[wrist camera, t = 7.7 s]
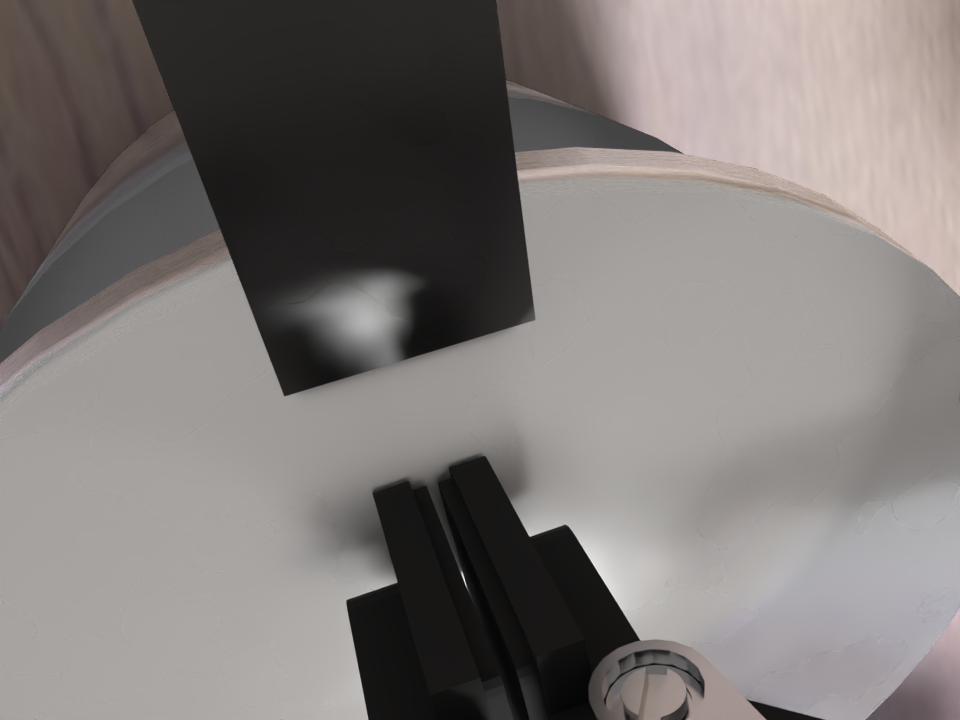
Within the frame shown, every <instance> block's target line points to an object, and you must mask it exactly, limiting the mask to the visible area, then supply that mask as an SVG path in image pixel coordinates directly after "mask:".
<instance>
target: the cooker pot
mask: <svg viewBox="0 0 960 720" xmlns="http://www.w3.org/2000/svg"><path fill="white" fill-rule="evenodd" d="M506 86H507V94H508V102H509V110H510V118H511V126H512V134H513V142H514V150H515V152H523V151H535V150H547V149H559V148H570V147H583V148H604V149H624V150H645V151H665V152H675V153H680V154H683V153H681V152H680V151H678V150H676V149H675V148H673V147H671V146H670V145H668V144H666V143H664V142H663V141H661V140H659V139H658V138H655V137H653V136H650V135H648V134H645V133H643V132H640V131H638V130H635V129H633V128H630V127H628V126H625V125H623V124H620V123H618V122H615V121H613V120H610V119H608V118H605V117H603V116H600V115H598V114H595V113H592V112H590V111H587V110H585V109H582V108H579V107H577V106H574V105H572V104H569V103H566V102H564V101H561V100H558V99H556V98H553V97H551V96H548V95H545V94H543V93H540V92H538V91H535V90H532V89H530V88H527V87H524V86H522V85H519V84H517V83H514V82H511V81H509V80H506ZM217 230H220V228H219V225H218V222H217V220H216V217H215V215H214V212H213V209H212V207H211V204H210V201H209V199H208V196H207V194H206V191H205V188H204V186H203V183H202V181H201V178H200V175H199V173H198V170H197V168H196V165H195V162H194V160H193V157H192V155H191V152H190V149H189V147H188V144H187V141H186V139H185V136H184V134H183V131H182V128H181V126H180V123H179V121H178V118H177V115H176V113H175V110H173V111H172V112H171V113H169V114H168V115H166V116H165V117H163V118H162V119H160V120H159V121H157V122H156V123H154V124H153V125H152V126H150V127H149V128H148V129H147V130H146V131H145V132H144V133H143V134H142V135H141V136H139V137H138V138H137V139H136V140H135V141H134V142H133V143H132V144H131V145H130V146H128V147H127V148H126V149H125V150H124V151H123V152H122V153H121V154H120V155H119V156H118V157H116V159H115V160H114V161H113V162H112V163H111V165H110V166H109V167H108V168H107V170H106V171H105V172H104V173H103V174H102V176H101V177H100V178H99V179H98V181H97V182H96V183H95V184H94V185H93V187H92V188H91V189H90V190H89V192H88V193H87V194H86V195H85V197H84V199H83V200H82V202H81V203H80V205H79V206H78V208H77V209H76V211H75V212H74V214H73V216H72V217H71V219H70V220H69V222H68V223H67V225H66V226H65V228H64V230H63V231H62V233H61V234H60V236H59V237H58V239H57V240H56V242H55V244H54V245H53V247H52V248H51V250H50V251H49V253H48V254H47V256H46V257H45V259H44V261H43V262H42V264H41V265H40V267H39V268H38V270H37V271H36V273H35V275H34V276H33V278H32V279H31V281H30V282H29V284H28V285H27V287H26V289H25V290H24V292H23V293H22V295H21V296H20V298H19V299H18V301H17V302H16V304H15V306H14V307H13V309H12V310H11V312H10V313H9V315H8V316H7V318H6V320H5V321H4V323H3V324H2V326H1V328H0V364H1V363H2V362H3V361H4V360H5V359H7V358H8V357H9V356H10V355H11V354H13V353H14V352H15V351H16V350H17V349H18V348H20V347H21V346H22V345H23V344H24V343H26V342H27V341H28V340H29V339H30V338H31V337H33V336H34V335H35V334H36V333H37V332H39V331H40V330H42V329H43V328H45V327H46V326H48V325H50V324H51V323H53V322H54V321H56V320H57V319H59V318H61V317H62V316H64V315H65V314H67V313H68V312H70V311H72V310H73V309H75V308H76V307H78V306H79V305H81V304H82V303H84V302H86V301H87V300H89V299H90V298H92V297H93V296H95V295H97V294H98V293H100V292H101V291H103V290H104V289H106V288H108V287H109V286H111V285H112V284H114V283H115V282H117V281H118V280H120V279H122V278H123V277H125V276H126V275H128V274H129V273H131V272H133V271H134V270H136V269H138V268H140V267H142V266H144V265H146V264H148V263H150V262H153V261H155V260H157V259H159V258H161V257H163V256H165V255H167V254H169V253H171V252H173V251H176V250H178V249H180V248H182V247H184V246H186V245H188V244H190V243H192V242H194V241H197V240H199V239H201V238H203V237H205V236H207V235H209V234H211V233H213V232H215V231H217Z"/></svg>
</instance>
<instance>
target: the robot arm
mask: <svg viewBox="0 0 960 720" xmlns="http://www.w3.org/2000/svg"><path fill="white" fill-rule="evenodd" d="M449 472H450V476H451V478H448V479H445V480H442V481H439V482H438V486H439V490H440V494H441V497H442V501H443V504H444V508H445V511H446V515H447V518H448V522H449V526H450V529H451V533H452V536H453V540H454V543H455V547H456V550H457V554H458V558H459V561H460V565H461V568H462V572H463V575H464V579H465V582H466V585H465V582H464V580H463V577H462V575H461V572H460V570H459V567H458V564H457V562H456V559H455V557H454V554H453V552H452V549H451V547H450V544H449V542H448V539H447V537H446V534H445V531H444V529H443V526H442V524H441V521H440V519H439V516H438V514H437V511H436V509H435V506H434V504H433V501H432V498H431V496H430V493H429V491H428V488H427V486H424V487H421V488H418V489H415V490H412V488H411V485H410V483H409V481H406V482H403V483H400V484H397V485H394V486H391V487H388V488H385V489H382V490H379V491H376V492H373V493H372V494H373V497H374V501H375V504H376V508H377V511H378V515H379V518H380V522H381V526H382V529H383V533H384V536H385V540H386V543H387V547H388V550H389V554H390V557H391V561H392V564H393V568H394V571H395V575H396V578H397V583H394V584H391V585H389V586H386V587H383V588H380V589H377V590H374V591H371V592H368V593H365V594H362V595H360V596H357V597H354V598H351V599H348V600H346V605H347V611H348V616H349V622H350V627H351V632H352V637H353V642H354V647H355V653H356V658H357V663H358V668H359V673H360V679H361V684H362V689H363V694H364V699H365V704H366V710H367V715H368V720H824V719H821V718H817V717H813V716H809V715H805V714H801V713H797V712H794V711H790V710H786V709H782V708H778V707H774V706H770V705H767V704H763V703H759V702H755V701H751V700H747V699H746V698H745V697H744V696H743V695H742V694H741V693H740V692H739V691H738V690H737V689H736V688H735V687H734V686H733V685H732V684H731V683H730V682H729V681H728V680H727V679H726V678H725V677H724V676H723V675H722V674H721V673H720V672H719V671H718V670H717V669H716V668H715V667H714V666H713V665H712V664H711V663H710V662H709V661H708V660H707V659H706V658H705V657H704V656H702V655H701V654H700V653H698V652H697V651H695V650H694V649H693V648H691V647H688V646H685V645H683V644H680V643H677V642H675V641H666V640H658V639H653V640H644V641H641V640H640V639H639V637H638V636H637V634H636V632H635V631H634V629H633V628H632V626H631V624H630V623H629V621H628V620H627V618H626V616H625V615H624V613H623V612H622V610H621V608H620V607H619V605H618V603H617V602H616V600H615V599H614V597H613V595H612V594H611V592H610V591H609V589H608V587H607V586H606V584H605V583H604V581H603V579H602V578H601V576H600V575H599V573H598V571H597V570H596V568H595V567H594V565H593V563H592V562H591V560H590V559H589V557H588V555H587V554H586V552H585V551H584V549H583V547H582V546H581V544H580V543H579V541H578V539H577V538H576V536H575V534H574V533H573V531H572V530H571V529H570V527H569V526H567V525H563V526H560V527H557V528H554V529H551V530H548V531H545V532H542V533H539V534H536V535H534V536H531V537H529V535H528V533H527V531H526V529H525V528H524V526H523V524H522V522H521V520H520V518H519V517H518V515H517V513H516V511H515V509H514V507H513V505H512V504H511V502H510V500H509V498H508V496H507V494H506V492H505V491H504V489H503V487H502V485H501V483H500V481H499V480H498V478H497V476H496V474H495V472H494V470H493V468H492V467H491V465H490V463H489V461H488V459H487V458H486V456H482V457H479V458H476V459H473V460H470V461H467V462H464V463H461V464H458V465H455V466H452V467H449ZM466 586H467V587H466Z"/></svg>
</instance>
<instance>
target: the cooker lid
mask: <svg viewBox="0 0 960 720" xmlns="http://www.w3.org/2000/svg"><path fill="white" fill-rule="evenodd" d="M132 1H133V3H134V6H135V8H136V11H137V14H138V16H139V19H140V21H141V24H142V27H143V29H144V32H145V34H146V37H147V40H148V42H149V45H150V48H151V50H152V53H153V55H154V58H155V61H156V63H157V66H158V68H159V71H160V74H161V76H162V79H163V81H164V84H165V87H166V89H167V92H168V95H169V97H170V100H171V102H172V105H173V108H174V110H175V113H176V115H177V118H178V121H179V123H180V126H181V128H182V131H183V134H184V136H185V139H186V141H187V144H188V147H189V149H190V152H191V155H192V157H193V160H194V162H195V165H196V168H197V170H198V173H199V175H200V178H201V181H202V183H203V186H204V188H205V191H206V194H207V196H208V199H209V201H210V204H211V207H212V209H213V212H214V215H215V217H216V220H217V222H218V225H219V228H220V230H217V231H215V232H213V233H211V234H209V235H207V236H205V237H203V238H201V239H199V240H197V241H194V242H192V243H190V244H188V245H186V246H184V247H182V248H180V249H178V250H176V251H173V252H171V253H169V254H167V255H165V256H163V257H161V258H159V259H157V260H155V261H153V262H150V263H148V264H146V265H144V266H142V267H140V268H138V269H136V270H134V271H133V272H131V273H129V274H128V275H126V276H125V277H123V278H122V279H120V280H118V281H117V282H115V283H114V284H112V285H111V286H109V287H108V288H106V289H104V290H103V291H101V292H100V293H98V294H97V295H95V296H93V297H92V298H90V299H89V300H87V301H86V302H84V303H82V304H81V305H79V306H78V307H76V308H75V309H73V310H72V311H70V312H68V313H67V314H65V315H64V316H62V317H61V318H59V319H57V320H56V321H54V322H53V323H51V324H50V325H48V326H46V327H45V328H43V329H42V330H40V331H39V332H37V333H36V334H35V335H34V336H33V337H31V338H30V339H29V340H28V341H27V342H26V343H24V344H23V345H22V346H21V347H20V348H18V349H17V350H16V351H15V352H14V353H13V354H11V355H10V356H9V357H8V358H7V359H5V360H4V361H3V362H2V363H1V364H0V720H368V715H367V710H366V704H365V699H364V694H363V689H362V684H361V679H360V673H359V668H358V663H357V658H356V653H355V647H354V642H353V637H352V632H351V627H350V622H349V616H348V611H347V605H346V600H348V599H351V598H354V597H357V596H360V595H362V594H365V593H368V592H371V591H374V590H377V589H380V588H383V587H386V586H389V585H391V584H394V583H397V578H396V575H395V571H394V568H393V564H392V561H391V557H390V554H389V550H388V547H387V543H386V540H385V536H384V533H383V529H382V526H381V522H380V518H379V515H378V511H377V508H376V504H375V501H374V497H373V494H372V493H373V492H376V491H379V490H382V489H385V488H388V487H391V486H394V485H397V484H400V483H403V482H406V481H409V483H410V485H411V488H412V490H415V489H418V488H421V487H424V486H427V488H428V491H429V493H430V496H431V498H432V501H433V504H434V506H435V509H436V511H437V514H438V516H439V519H440V521H441V524H442V526H443V529H444V531H445V534H446V537H447V539H448V542H449V544H450V547H451V549H452V552H453V554H454V557H455V559H456V562H457V564H458V567H459V570H460V572H461V575H462V577H463V580H464V582H465V579H464V575H463V572H462V568H461V565H460V561H459V558H458V554H457V550H456V547H455V543H454V540H453V536H452V533H451V529H450V526H449V522H448V518H447V515H446V511H445V508H444V504H443V501H442V497H441V494H440V490H439V486H438V482H439V481H442V480H445V479H448V478H451V476H450V472H449V467H452V466H455V465H458V464H461V463H464V462H467V461H470V460H473V459H476V458H479V457H482V456H486V458H487V459H488V461H489V463H490V465H491V467H492V468H493V470H494V472H495V474H496V476H497V478H498V480H499V481H500V483H501V485H502V487H503V489H504V491H505V492H506V494H507V496H508V498H509V500H510V502H511V504H512V505H513V507H514V509H515V511H516V513H517V515H518V517H519V518H520V520H521V522H522V524H523V526H524V528H525V529H526V531H527V533H528V535H529V537H531V536H534V535H536V534H539V533H542V532H545V531H548V530H551V529H554V528H557V527H560V526H563V525H567V526H569V527H570V529H571V530H572V531H573V533H574V534H575V536H576V538H577V539H578V541H579V543H580V544H581V546H582V547H583V549H584V551H585V552H586V554H587V555H588V557H589V559H590V560H591V562H592V563H593V565H594V567H595V568H596V570H597V571H598V573H599V575H600V576H601V578H602V579H603V581H604V583H605V584H606V586H607V587H608V589H609V591H610V592H611V594H612V595H613V597H614V599H615V600H616V602H617V603H618V605H619V607H620V608H621V610H622V612H623V613H624V615H625V616H626V618H627V620H628V621H629V623H630V624H631V626H632V628H633V629H634V631H635V632H636V634H637V636H638V637H639V639H640V640H641V641H644V640H653V639H658V640H666V641H675V642H677V643H680V644H683V645H685V646H688V647H691V648H693V649H694V650H695V651H697V652H698V653H700V654H701V655H702V656H704V657H705V658H706V659H707V660H708V661H709V662H710V663H711V664H712V665H713V666H714V667H715V668H716V669H717V670H718V671H719V672H720V673H721V674H722V675H723V676H724V677H725V678H726V679H727V680H728V681H729V682H730V683H731V684H732V685H733V686H734V687H735V688H736V689H737V690H738V691H739V692H740V693H741V694H742V695H743V696H744V697H745V698H746V699H747V700H751V701H755V702H759V703H763V704H767V705H770V706H774V707H778V708H782V709H786V710H790V711H794V712H797V713H801V714H805V715H809V716H813V717H817V718H821V719H824V720H866V719H867V718H868V717H869V716H870V715H871V714H872V713H873V712H874V711H875V710H876V709H877V708H878V707H879V706H880V705H881V704H882V703H883V702H884V701H885V700H886V699H887V698H888V697H889V696H890V695H891V694H892V693H893V692H894V691H895V690H896V689H897V688H898V686H899V685H900V684H901V683H902V682H903V681H904V680H905V678H906V677H907V676H908V675H909V674H910V673H911V671H912V670H913V669H914V668H915V667H916V666H917V665H918V663H919V662H920V661H921V660H922V659H923V658H924V657H925V655H926V654H927V653H928V652H929V650H930V649H931V647H932V646H933V645H934V643H935V642H936V641H937V639H938V638H939V637H940V635H941V634H942V633H943V631H944V630H945V628H946V627H947V626H948V624H949V623H950V622H951V620H952V619H953V618H954V616H955V615H956V613H957V611H958V610H959V608H960V296H959V295H958V294H956V293H955V292H954V291H953V290H952V289H951V288H950V287H949V286H948V285H947V284H946V283H945V282H944V281H943V280H942V279H941V278H940V277H939V276H938V275H937V274H936V273H935V272H934V271H933V270H932V269H930V268H929V267H928V266H927V265H925V264H924V263H923V262H921V261H920V260H919V259H918V258H916V257H915V256H914V255H912V254H911V253H910V252H909V251H907V250H906V249H905V248H903V247H902V246H901V245H900V244H898V243H897V242H896V241H894V240H893V239H892V238H891V237H889V236H888V235H887V234H885V233H884V232H883V231H882V230H880V229H879V228H877V227H876V226H874V225H872V224H871V223H869V222H867V221H866V220H864V219H863V218H861V217H859V216H858V215H856V214H855V213H853V212H851V211H850V210H848V209H847V208H845V207H843V206H842V205H840V204H838V203H837V202H835V201H834V200H832V199H830V198H829V197H827V196H826V195H823V194H821V193H818V192H816V191H813V190H810V189H808V188H805V187H803V186H800V185H797V184H795V183H792V182H789V181H787V180H784V179H782V178H779V177H776V176H774V175H771V174H768V173H766V172H763V171H761V170H758V169H755V168H750V167H745V166H740V165H735V164H730V163H725V162H720V161H715V160H710V159H705V158H700V157H695V156H690V155H685V154H680V153H675V152H665V151H645V150H624V149H604V148H583V147H570V148H559V149H547V150H535V151H523V152H515V150H514V142H513V134H512V126H511V118H510V110H509V102H508V94H507V86H506V78H505V70H504V62H503V54H502V46H501V38H500V30H499V22H498V13H497V5H496V0H132ZM465 585H466V582H465ZM466 587H467V586H466Z"/></svg>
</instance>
